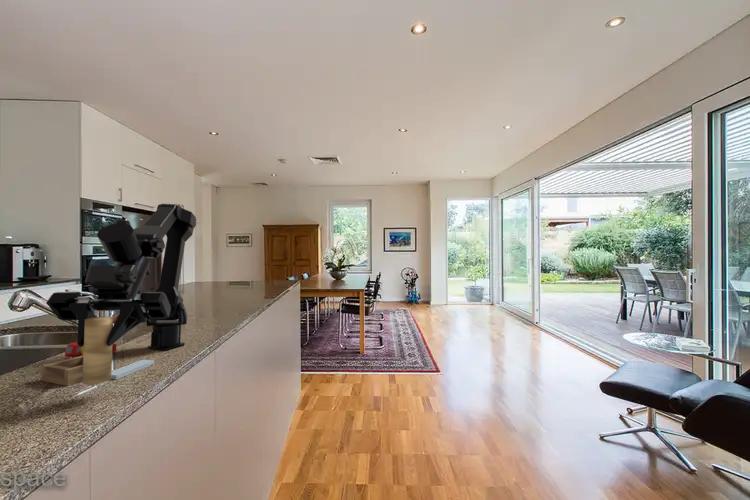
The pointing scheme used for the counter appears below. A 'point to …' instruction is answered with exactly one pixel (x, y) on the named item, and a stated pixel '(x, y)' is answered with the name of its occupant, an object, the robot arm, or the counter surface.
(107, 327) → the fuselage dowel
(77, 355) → the toy fire truck
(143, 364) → the plate
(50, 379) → the square wooden tray
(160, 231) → the robot arm
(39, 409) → the counter surface
